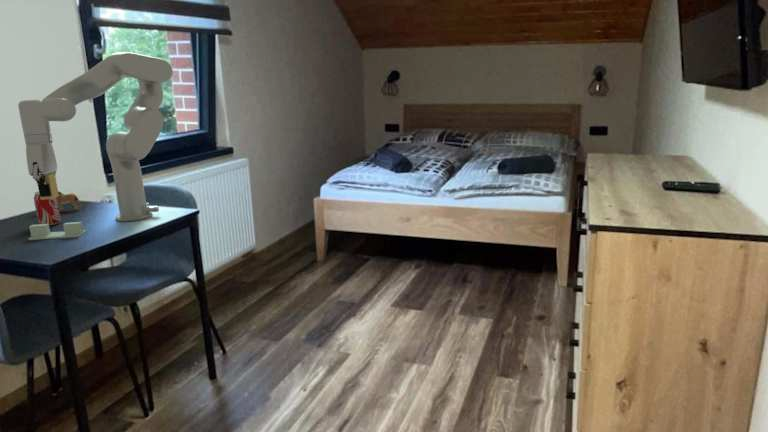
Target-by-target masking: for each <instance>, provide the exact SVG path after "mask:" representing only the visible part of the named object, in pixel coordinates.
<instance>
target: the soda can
mask: <svg viewBox="0 0 768 432" xmlns="http://www.w3.org/2000/svg"><path fill="white" fill-rule="evenodd" d="M33 203H34V207H35V212H36V217H37V221H38V224H49V227H50V226H54V225H57V224H59V223H60V222H61V214H60V211H59V208H58V203H57V198H54V199H43V200H41V199H40V194H39V190H38V191H36V192H34V197H33Z"/></svg>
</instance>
